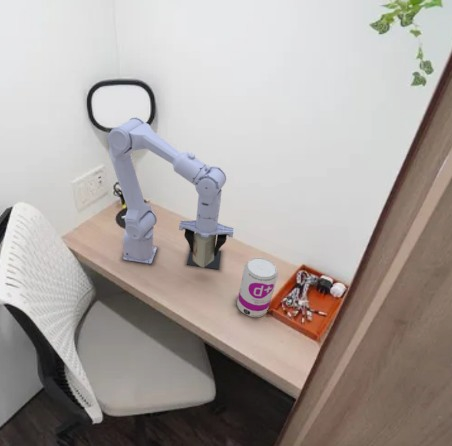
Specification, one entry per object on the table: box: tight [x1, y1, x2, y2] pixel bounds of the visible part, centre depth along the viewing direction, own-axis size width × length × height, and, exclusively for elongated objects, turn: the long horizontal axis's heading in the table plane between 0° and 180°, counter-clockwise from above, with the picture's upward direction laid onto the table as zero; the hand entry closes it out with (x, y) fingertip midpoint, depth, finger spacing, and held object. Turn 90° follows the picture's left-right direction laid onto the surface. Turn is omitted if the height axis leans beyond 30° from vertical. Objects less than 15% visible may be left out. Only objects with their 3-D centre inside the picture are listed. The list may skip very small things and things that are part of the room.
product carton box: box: [193, 232, 217, 269], centre depth 96 cm, size 5×4×10 cm
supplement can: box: [236, 257, 279, 318], centre depth 88 cm, size 8×8×15 cm
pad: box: [186, 250, 222, 271], centre depth 109 cm, size 10×9×1 cm
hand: (203, 251), depth 97 cm, fingers closed on product carton box, 6 cm apart
